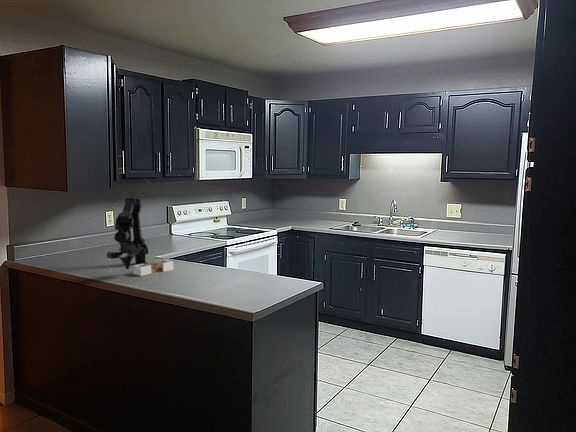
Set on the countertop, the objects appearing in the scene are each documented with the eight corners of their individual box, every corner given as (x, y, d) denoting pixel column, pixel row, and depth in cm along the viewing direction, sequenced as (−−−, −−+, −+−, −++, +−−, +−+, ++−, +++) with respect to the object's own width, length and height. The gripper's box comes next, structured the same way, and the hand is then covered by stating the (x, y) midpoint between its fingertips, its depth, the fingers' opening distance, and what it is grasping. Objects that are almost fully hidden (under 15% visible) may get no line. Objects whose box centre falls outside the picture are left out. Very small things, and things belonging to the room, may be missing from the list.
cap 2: (155, 269, 259) (155, 261, 258) (165, 267, 263) (165, 259, 263) (163, 271, 253) (163, 263, 253) (173, 269, 258) (173, 261, 257)
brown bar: (163, 268, 261) (162, 260, 260) (167, 269, 259) (166, 260, 258) (139, 274, 248) (138, 265, 247) (143, 275, 246) (142, 266, 245)
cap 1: (133, 273, 249) (132, 265, 248) (143, 271, 253) (143, 263, 253) (140, 276, 243) (140, 267, 243) (151, 273, 248) (151, 265, 247)
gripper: (116, 243, 227) (118, 274, 229) (150, 238, 241) (151, 268, 243) (105, 241, 235) (107, 271, 237) (138, 236, 249) (140, 265, 250)
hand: (127, 269), depth 242 cm, fingers closed
